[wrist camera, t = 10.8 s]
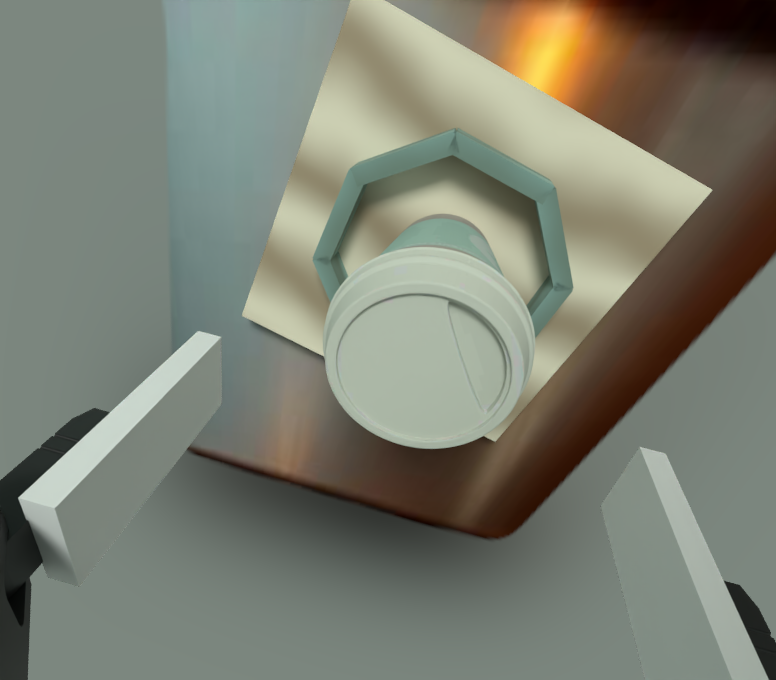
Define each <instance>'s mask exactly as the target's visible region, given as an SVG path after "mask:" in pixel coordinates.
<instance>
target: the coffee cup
mask: <svg viewBox="0 0 776 680" xmlns="http://www.w3.org/2000/svg"><path fill="white" fill-rule="evenodd" d="M323 352H324V358H325V365H326V372H327V377H328V380H329V384H330V386H331V388H332V391H333V393H334V395H335V397H336V398H337V400H338V402H339V403H340V404H341V406H342V407H343V408H344V410H345V411H346V412H347V413H348V414H349V415H350V416H351V417H352V418H353V419H354V420H355V421H356V422H357V423H359V424H360V425H361V426H363V427H364V428H365V429H367V430H368V431H370V432H372V433H373V434H375V435H377V436H379V437H381V438H383V439H386V440H388V441H391V442H394V443H397V444H400V445H404V446H409V447H414V448H424V449H438V448H448V447H454V446H459V445H462V444H466V443H469V442H471V441H474V440H476V439H478V438H480V437H482V436H484V435H486V434H487V433H489V432H491V431H492V430H493V429H495V428H496V427H497V426H498V425H499V424H501V423H502V422H503V421H504V420H505V419H506V417H507V416H508V415H509V414H510V412H511V411H512V410H513V408H514V406H515V405H516V403H517V401H518V398H519V397H520V395H521V394H522V392H523V391H524V389H525V387H526V385H527V383H528V380H529V377H530V375H531V371H532V366H533V360H534V354H535V332H534V327H533V322H532V319H531V316H530V313H529V311H528V309H527V306H526V304H525V303H524V301H523V299H522V298H521V296H520V294H519V293H518V292H517V290H516V289H515V288H514V287H513V286H512V284H511V283H510V282H509V281H508V280H507V279H506V278H505V277H504V275H503V273H502V271H501V269H500V267H499V265H498V262H497V260H496V258H495V256H494V254H493V252H492V250H491V248H490V246H489V243H488V241H487V240H486V238H485V236H484V235H483V233H482V232H481V231H480V230H479V229H478V228H477V227H476V226H475V225H474V224H473V223H471V222H470V221H468V220H466V219H464V218H462V217H459V216H456V215H452V214H433V215H429V216H425V217H423V218H421V219H419V220H417V221H415V222H414V223H412V224H411V225H410V226H409V227H407V228H406V229H405V230H404V231H403V232H402V233H401V234H400V235H399V236H398V237H397V238H396V239H395V240H394V241H393V242H392V243H391V244H390V245H389V246H388V247H387V248H386V249H385V250H384V251H383V252H382V253H381V254H380V255H379V256H378V257H376V258H374V259H372V260H370V261H368V262H367V263H365V264H363V265H362V266H360V267H359V268H358V269H356V270H355V271H354V272H353V273H352V274H351V275H350V276H349V277H348V278H347V279H346V280H345V281H344V282H343V283H342V285H341V286H340V287H339V289H338V290H337V292H336V293H335V295H334V297H333V299H332V301H331V303H330V306H329V309H328V312H327V316H326V321H325V325H324V331H323Z"/></svg>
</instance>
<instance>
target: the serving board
mask: <svg viewBox="0 0 776 680" xmlns="http://www.w3.org/2000/svg"><path fill="white" fill-rule="evenodd" d="M711 191H712V189H710V188H708V187H706V186H705V185H703V184H701V183H700V182H698V181H696V180H694V179H693V178H691V177H689V176H687V175H686V174H684V173H682V172H681V171H679V170H677V169H675V168H674V167H672V166H670V165H668V164H667V163H665V162H663V161H661V160H660V159H658V158H656V157H655V156H653V155H651V154H649V153H648V152H646V151H644V150H642V149H641V148H639V147H637V146H636V145H634V144H632V143H630V142H629V141H627V140H625V139H623V138H622V137H620V136H618V135H616V134H615V133H613V132H611V131H610V130H608V129H606V128H604V127H603V126H601V125H599V124H597V123H596V122H594V121H592V120H591V119H589V118H587V117H585V116H584V115H582V114H580V113H578V112H577V111H575V110H573V109H571V108H570V107H568V106H566V105H565V104H563V103H561V102H559V101H558V100H556V99H554V98H552V97H551V96H549V95H547V94H546V93H544V92H542V91H540V90H539V89H537V88H535V87H533V86H532V85H530V84H528V83H527V82H525V81H523V80H521V79H520V78H518V77H516V76H514V75H513V74H511V73H509V72H507V71H506V70H504V69H502V68H501V67H499V66H497V65H495V64H494V63H492V62H490V61H488V60H487V59H485V58H483V57H482V56H480V55H478V54H476V53H475V52H473V51H471V50H469V49H468V48H466V47H464V46H462V45H461V44H459V43H457V42H456V41H454V40H452V39H450V38H449V37H447V36H445V35H443V34H442V33H440V32H438V31H437V30H435V29H433V28H431V27H430V26H428V25H426V24H424V23H423V22H421V21H419V20H417V19H416V18H414V17H412V16H411V15H409V14H407V13H405V12H404V11H402V10H400V9H398V8H397V7H395V6H393V5H392V4H390V3H388V2H386V1H385V0H351V1H350V4H349V7H348V10H347V13H346V16H345V19H344V22H343V24H342V27H341V30H340V33H339V36H338V39H337V42H336V45H335V48H334V50H333V53H332V56H331V59H330V62H329V65H328V68H327V71H326V74H325V76H324V79H323V82H322V85H321V88H320V91H319V94H318V97H317V100H316V103H315V105H314V108H313V111H312V114H311V117H310V120H309V123H308V126H307V129H306V131H305V134H304V137H303V140H302V143H301V146H300V149H299V152H298V155H297V157H296V160H295V163H294V166H293V169H292V172H291V175H290V178H289V181H288V184H287V186H286V189H285V192H284V195H283V198H282V201H281V204H280V207H279V210H278V212H277V215H276V218H275V221H274V224H273V227H272V230H271V233H270V236H269V239H268V241H267V244H266V247H265V250H264V253H263V256H262V259H261V262H260V265H259V267H258V270H257V273H256V276H255V279H254V282H253V285H252V288H251V291H250V293H249V296H248V299H247V302H246V305H245V308H244V311H243V314H242V316H244V317H246V318H248V319H250V320H252V321H254V322H256V323H258V324H260V325H262V326H264V327H266V328H268V329H270V330H272V331H274V332H276V333H278V334H280V335H282V336H284V337H286V338H288V339H290V340H292V341H294V342H296V343H298V344H300V345H302V346H304V347H306V348H308V349H310V350H312V351H314V352H316V353H318V354H320V355H322V356H324V352H323V331H324V325H325V321H326V316H327V312H328V309H329V306H330V303H331V301H332V299H333V297H334V295H335V293H336V292H337V290H338V289H339V287H340V286H341V285H342V283H343V282H344V281H345V280H346V279H347V278H348V277H349V276H350V275H351V274H352V273H353V272H354V271H355V270H356V269H358V268H359V267H360V266H362V265H363V264H365V263H367V262H368V261H370V260H372V259H374V258H376V257H378V256H379V255H380V254H381V253H382V252H383V251H384V250H385V249H386V248H387V247H388V246H389V245H390V244H391V243H392V242H393V241H394V240H395V239H396V238H397V237H398V236H399V235H400V234H401V233H402V232H403V231H404V230H405V229H406V228H407V227H409V226H410V225H411V224H412V223H414V222H415V221H417V220H419V219H421V218H423V217H425V216H429V215H433V214H452V215H456V216H459V217H462V218H464V219H466V220H468V221H470V222H471V223H473V224H474V225H475V226H476V227H477V228H478V229H479V230H480V231H481V232H482V233H483V235H484V236H485V238H486V240H487V241H488V243H489V246H490V248H491V250H492V252H493V254H494V256H495V258H496V260H497V262H498V265H499V267H500V269H501V271H502V273H503V275H504V277H505V278H506V279H507V280H508V281H509V282H510V283H511V284H512V286H513V287H514V288H515V289H516V290H517V292H518V293H519V294H520V296H521V298H522V299H523V301H524V303H525V304H526V306H527V309H528V311H529V313H530V316H531V319H532V322H533V327H534V332H535V354H534V360H533V366H532V371H531V375H530V377H529V380H528V383H527V385H526V387H525V389H524V391H523V392H522V394H521V395H520V397H519V398H518V401H517V403H516V405H515V406H514V408H513V410H512V411H511V412H510V414H509V415H508V416H507V417H506V419H505V420H504V421H503V422H502V423H501V424H499V425H498V426H497V427H496V428H495V429H493V430H492V431H491V432H489V433H487V434H486V435H484V436H485V437H487V438H489V439H491V440H493V441H496V440H497V439H498V438H499V437H500V436H501V434H502V433H503V432H504V431H505V430H506V429H507V427H508V426H509V425H510V424H511V423H512V422H513V421H514V419H515V418H516V417H517V416H518V415H519V414H520V412H521V411H522V410H523V409H524V408H525V407H526V405H527V404H528V403H529V402H530V401H531V400H532V399H533V397H534V396H535V395H536V394H537V393H538V392H539V390H540V389H541V388H542V387H543V386H544V385H545V383H546V382H547V381H548V380H549V379H550V378H551V377H552V375H553V374H554V373H555V372H556V371H557V370H558V368H559V367H560V366H561V365H562V364H563V363H564V361H565V360H566V359H567V358H568V357H569V356H570V355H571V353H572V352H573V351H574V350H575V349H576V348H577V346H578V345H579V344H580V343H581V342H582V341H583V339H584V338H585V337H586V336H587V335H588V334H589V332H590V331H591V330H592V329H593V328H594V327H595V326H596V324H597V323H598V322H599V321H600V320H601V319H602V317H603V316H604V315H605V314H606V313H607V312H608V310H609V309H610V308H611V307H612V306H613V305H614V304H615V302H616V301H617V300H618V299H619V298H620V297H621V295H622V294H623V293H624V292H625V291H626V290H627V288H628V287H629V286H630V285H631V284H632V283H633V282H634V280H635V279H636V278H637V277H638V276H639V275H640V273H641V272H642V271H643V270H644V269H645V268H646V266H647V265H648V264H649V263H650V262H651V261H652V260H653V258H654V257H655V256H656V255H657V254H658V253H659V251H660V250H661V249H662V248H663V247H664V246H665V244H666V243H667V242H668V241H669V240H670V239H671V238H672V236H673V235H674V234H675V233H676V232H677V231H678V229H679V228H680V227H681V226H682V225H683V224H684V222H685V221H686V220H687V219H688V218H689V217H690V215H691V214H692V213H693V212H694V211H695V210H696V209H697V207H698V206H699V205H700V204H701V203H702V202H703V200H704V199H705V198H706V197H707V196H708V195H709V193H710V192H711Z"/></svg>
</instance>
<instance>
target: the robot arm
mask: <svg viewBox="0 0 776 680" xmlns="http://www.w3.org/2000/svg"><path fill="white" fill-rule="evenodd" d="M221 404H222V366H221V337H219V336H215V335H211V334H207V333H203V332H200V331H198V332H197V333H196V334H194V335H193V336H192V337H191V338H190V339H189V340H188V341H187V342H186V343H185V344H184V345H183V346H181V347H180V348H179V349H178V350H177V351H176V352H175V353H174V354H173V355H172V356H171V357H170V358H169V359H167V360H166V361H165V362H164V363H163V364H162V365H161V366H160V367H159V368H158V369H157V370H156V371H154V372H153V373H152V374H151V375H150V376H149V377H148V378H147V379H146V380H145V381H144V382H143V383H142V384H141V385H139V386H138V387H137V388H136V389H135V390H134V391H133V392H132V393H131V394H130V395H129V396H128V397H127V398H125V399H124V400H123V401H122V402H121V403H120V404H119V405H118V406H117V407H116V408H115V409H114V410H112V411H111V412H106V411H103V410H99V409H96V408H94V409H92V410H89V411H87V412H85V413H83V414H82V415H80V416H77V417H75V418H73V419H71V420H70V421H69V422H68V423H67V424H66V425H64V426H63V427H62V428H61V429H60V430H59V431H57V432H56V433H55V436H54V437H53V436H52V437H50V438H49V439H48V440H47V441H46V442H45V443H43V444H42V445H41V448H40V449H37V450H35V451H34V452H33V453H32V454H31V455H29V456H28V457H27V458H26V459H25V460H24V461H22V462H21V463H20V464H19V465H18V466H17V467H15V468H14V469H13V470H12V471H11V472H10V473H8V474H7V475H6V476H5V477H4V478H3V479H1V480H0V680H28V654H29V628H30V604H31V582H30V578H29V577H30V576H31V575H32V574H33V572H34V571H35V570H36V569H37V568H38V567H39V566H40V565H41V563H43V566H44V569H45V571H46V574H47V577H49V578H52V579H55V580H58V581H62V582H65V583H69V584H72V585H75V586H78V587H79V586H80V585H81V584H82V583H83V581H84V580H85V579H86V577H87V576H88V575H89V574H90V572H91V571H92V570H93V568H94V567H95V566H96V565H97V563H98V562H99V561H100V559H101V558H102V557H103V555H104V554H105V553H106V552H107V550H108V549H109V548H110V547H111V545H112V544H113V543H114V542H115V540H116V539H117V538H118V536H119V535H120V534H121V532H122V531H123V530H124V529H125V527H126V526H127V525H128V524H129V522H130V521H131V520H132V518H133V517H134V516H135V515H136V513H137V512H138V511H139V509H140V508H141V507H142V506H143V504H144V503H145V502H146V500H147V499H148V498H149V496H150V495H151V494H152V493H153V491H154V490H155V489H156V488H157V486H158V485H159V484H160V482H161V481H162V480H163V479H164V477H165V476H166V475H167V474H168V472H169V471H170V470H171V468H172V467H173V466H174V465H175V463H176V462H177V461H178V459H179V458H180V457H181V455H182V454H183V453H184V452H185V450H186V449H187V448H188V447H189V445H190V444H191V443H192V441H193V440H194V439H195V438H196V436H197V435H198V434H199V432H200V431H201V430H202V429H203V427H204V426H205V425H206V423H207V422H208V421H209V420H210V418H211V417H212V416H213V414H214V413H215V412H216V411H217V409H218V408H219V407H220V405H221ZM600 507H601V511H602V514H603V518H604V522H605V526H606V530H607V534H608V538H609V542H610V546H611V550H612V554H613V557H614V561H615V565H616V569H617V573H618V577H619V581H620V585H621V589H622V593H623V597H624V600H625V604H626V608H627V612H628V616H629V620H630V624H631V627H632V632H633V636H634V640H635V644H636V647H637V651H638V655H639V659H640V663H641V667H642V671H643V675H644V679H645V680H776V642H775V640H774V638H772V637H771V636H770V634H771V632H770V630H769V628H768V626H767V624H766V622H765V620H764V618H763V616H762V614H761V612H760V610H759V608H758V607H757V606H756V605H755V603H754V602H753V601H752V600H751V599H750V597H749V596H748V595H747V594H746V592H745V591H744V590H743V589H742V587H741V586H740V585H737V584H734V583H730V582H726V581H723V578H722V576H721V574H720V572H719V570H718V567H717V565H716V563H715V561H714V559H713V557H712V554H711V552H710V550H709V548H708V546H707V543H706V541H705V539H704V537H703V535H702V532H701V530H700V528H699V526H698V524H697V522H696V519H695V517H694V515H693V513H692V511H691V508H690V506H689V504H688V502H687V500H686V498H685V495H684V493H683V491H682V489H681V486H680V484H679V482H678V480H677V478H676V475H675V473H674V472H673V469H672V467H671V464H670V462H669V460H668V458H667V456H666V454H665V453H661V452H658V451H654V450H650V449H646V448H642V447H639V449H638V450H637V452H636V453H635V455H634V456H633V458H632V459H631V461H630V462H629V464H628V465H627V467H626V468H625V470H624V471H623V473H622V475H621V476H620V477H619V479H618V481H617V482H616V483H615V485H614V486H613V488H612V489H611V491H610V492H609V494H608V496H607V497H606V498H605V500H604V502H603V503H602V504H601V506H600Z"/></svg>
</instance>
